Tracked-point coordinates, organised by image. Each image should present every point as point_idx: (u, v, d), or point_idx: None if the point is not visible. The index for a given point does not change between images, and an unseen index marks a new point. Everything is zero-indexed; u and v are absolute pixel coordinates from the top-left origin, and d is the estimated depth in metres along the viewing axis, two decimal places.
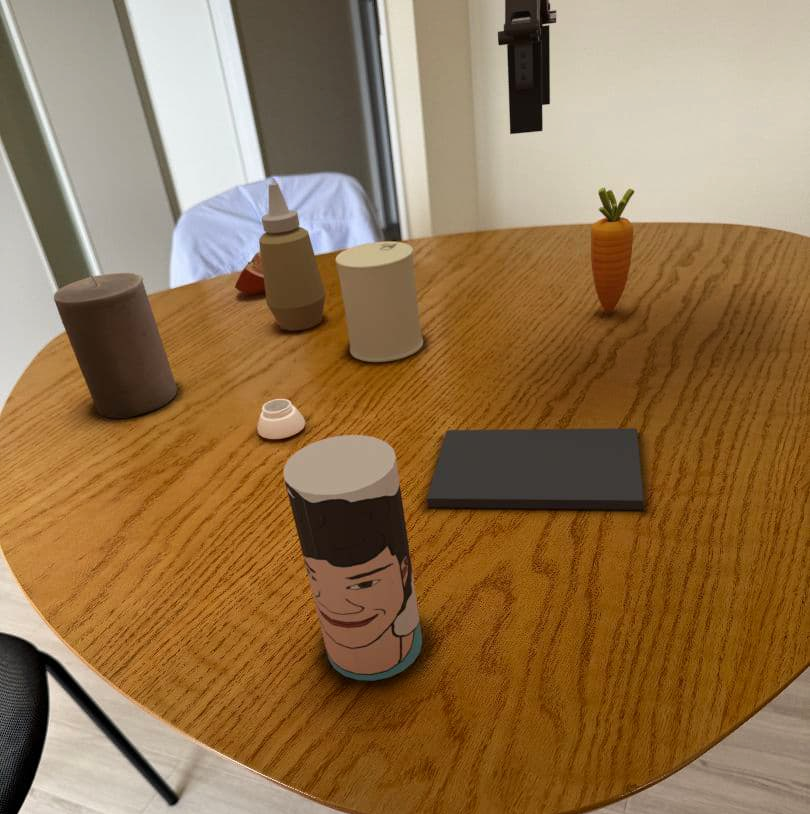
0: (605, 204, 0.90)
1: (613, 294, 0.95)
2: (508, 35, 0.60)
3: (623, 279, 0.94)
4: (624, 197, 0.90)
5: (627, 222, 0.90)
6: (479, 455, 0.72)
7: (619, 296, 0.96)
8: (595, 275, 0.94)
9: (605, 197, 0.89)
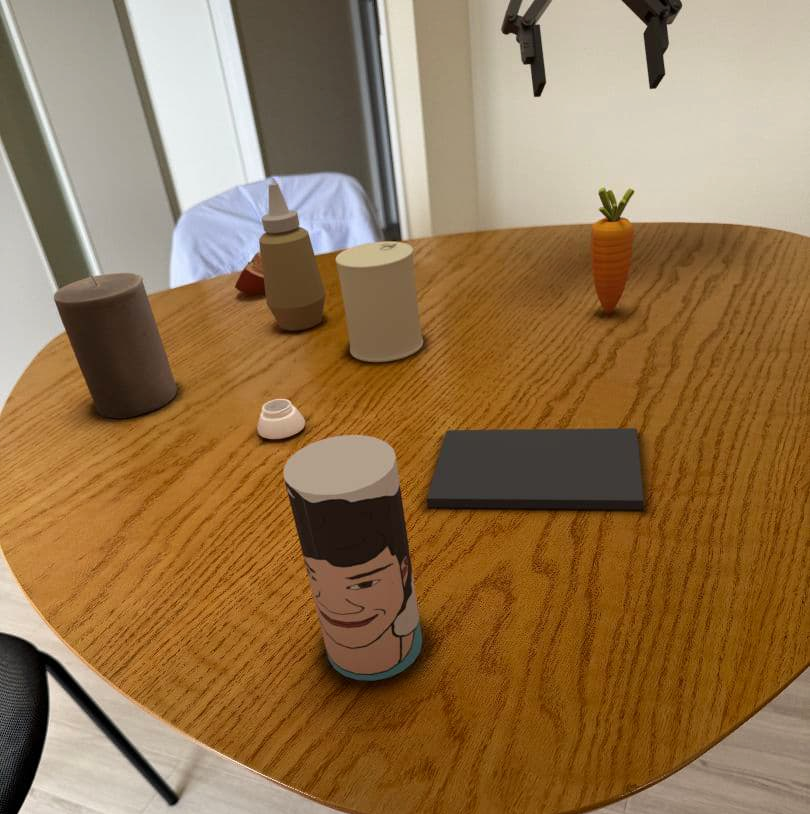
0: (605, 204, 0.90)
1: (613, 294, 0.95)
2: (504, 32, 0.88)
3: (623, 279, 0.94)
4: (624, 197, 0.90)
5: (627, 222, 0.90)
6: (479, 455, 0.72)
7: (619, 296, 0.96)
8: (595, 275, 0.94)
9: (605, 197, 0.89)
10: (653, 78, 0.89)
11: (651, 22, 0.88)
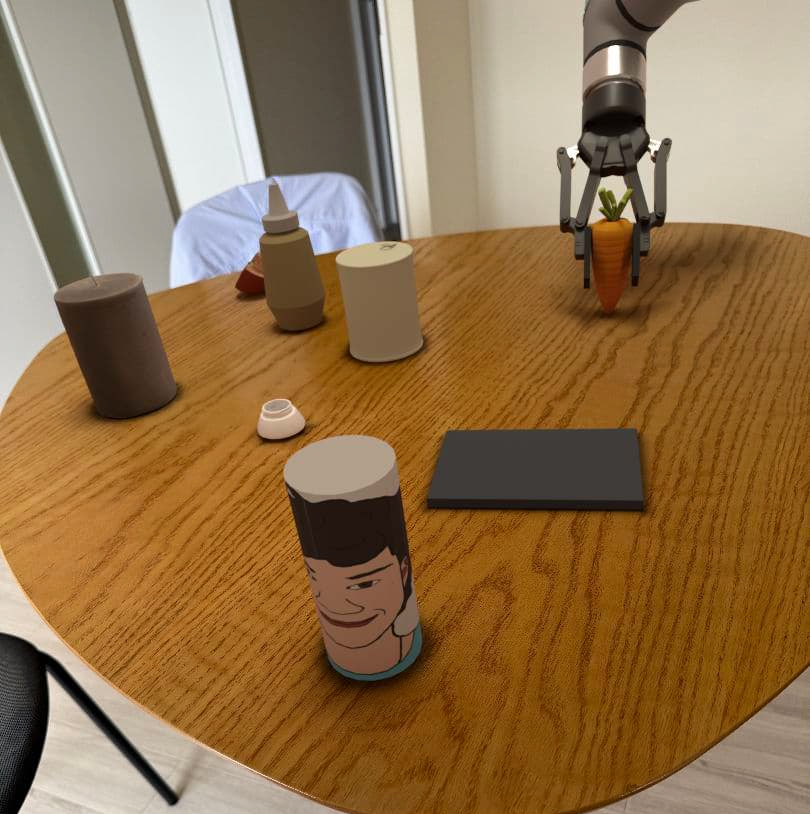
0: (605, 204, 0.90)
1: (613, 294, 0.95)
2: (564, 232, 0.95)
3: (623, 279, 0.94)
4: (624, 197, 0.90)
5: (627, 222, 0.90)
6: (479, 455, 0.72)
7: (619, 296, 0.96)
8: (595, 275, 0.94)
9: (605, 197, 0.89)
10: None
11: (633, 227, 0.91)
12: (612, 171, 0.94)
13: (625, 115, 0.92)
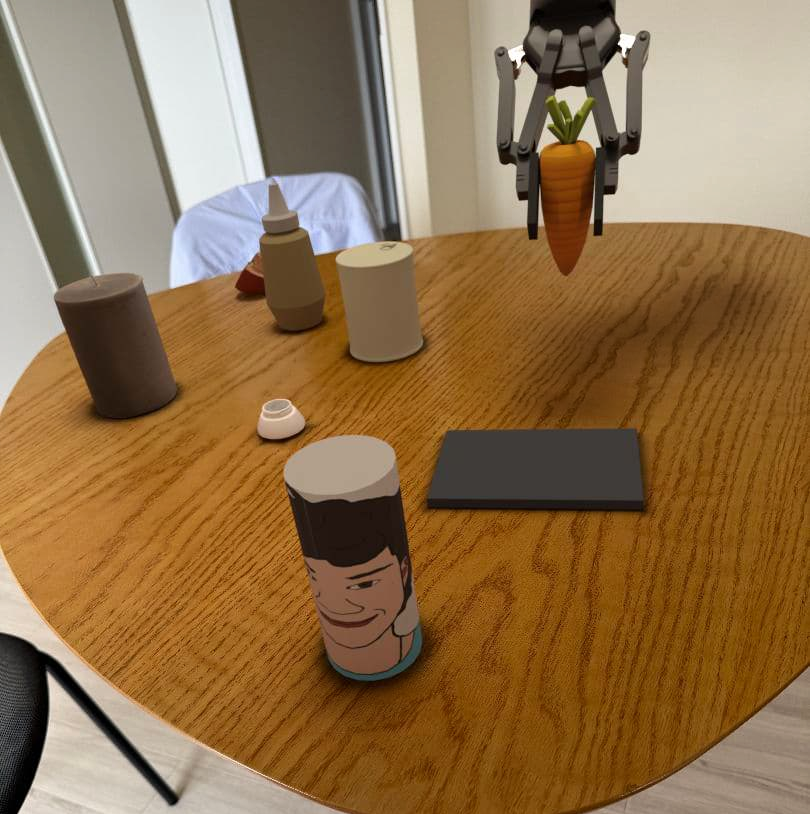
0: (556, 119, 0.65)
1: (571, 248, 0.70)
2: (504, 163, 0.70)
3: (583, 227, 0.69)
4: (582, 110, 0.65)
5: (587, 145, 0.65)
6: (479, 455, 0.72)
7: (579, 251, 0.71)
8: (545, 221, 0.69)
9: (555, 109, 0.64)
10: None
11: None
12: (570, 79, 0.69)
13: (587, 0, 0.67)
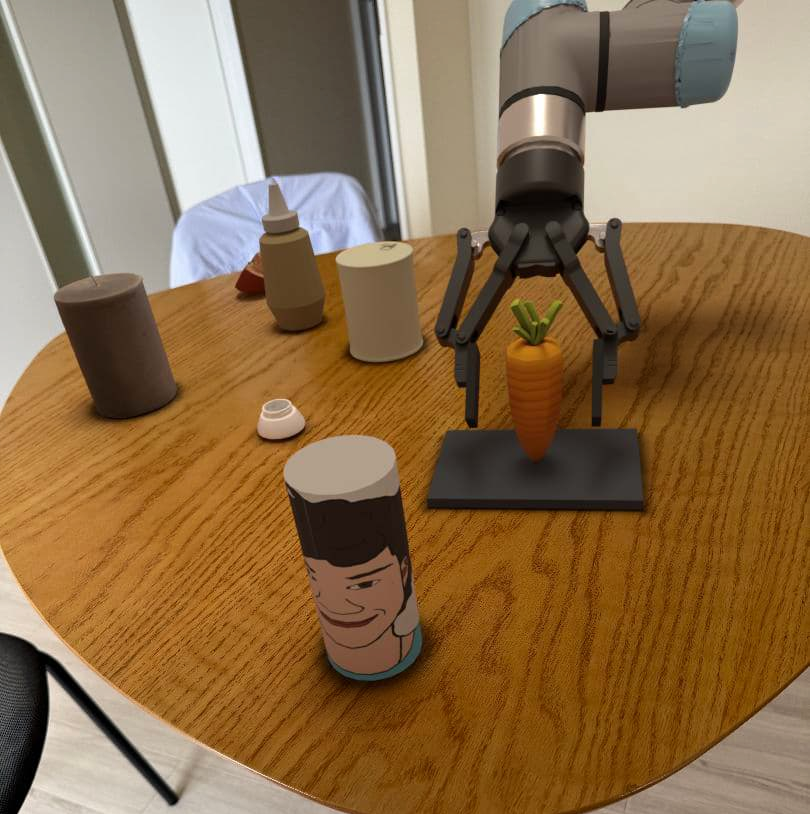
0: (522, 321, 0.62)
1: (539, 441, 0.67)
2: (442, 345, 0.68)
3: (552, 422, 0.66)
4: (549, 312, 0.62)
5: (554, 347, 0.63)
6: (479, 455, 0.72)
7: (548, 441, 0.68)
8: (513, 415, 0.66)
9: (521, 313, 0.62)
10: None
11: (593, 344, 0.63)
12: (537, 271, 0.66)
13: (553, 195, 0.64)
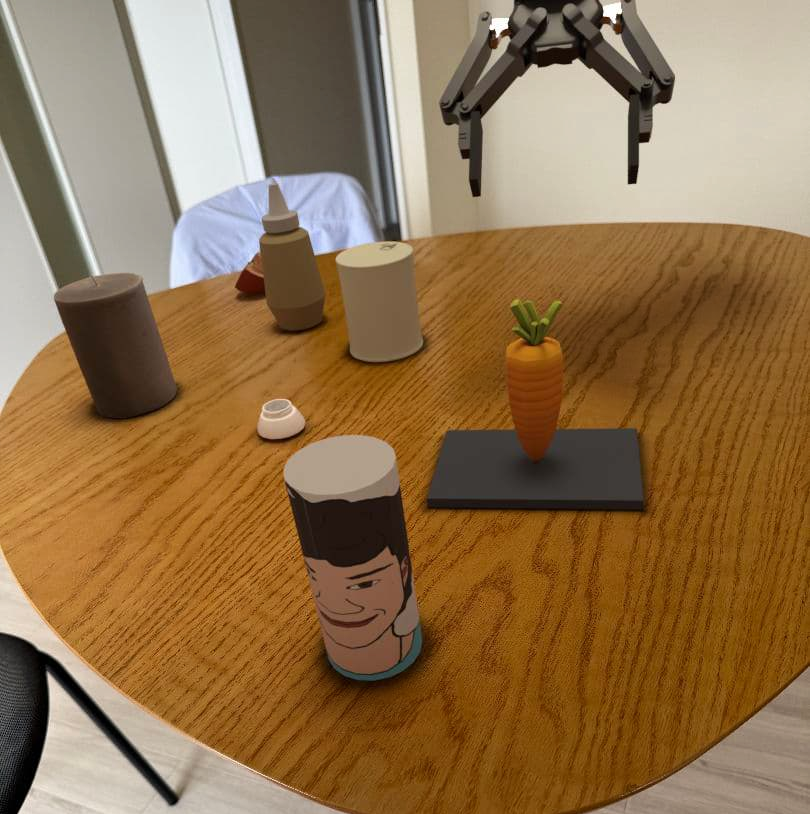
0: (522, 321, 0.62)
1: (539, 441, 0.67)
2: (446, 123, 0.72)
3: (552, 422, 0.66)
4: (548, 312, 0.62)
5: (554, 347, 0.63)
6: (479, 455, 0.72)
7: (548, 441, 0.68)
8: (513, 415, 0.66)
9: (521, 313, 0.62)
10: (628, 171, 0.67)
11: (629, 101, 0.67)
12: (555, 57, 0.70)
13: None
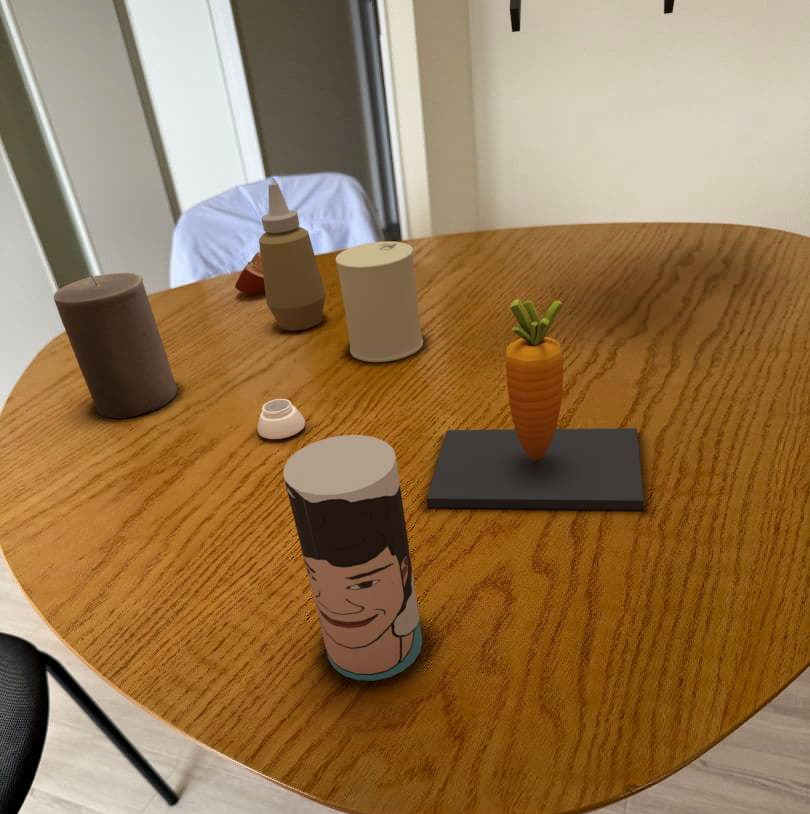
0: (522, 321, 0.62)
1: (539, 441, 0.67)
2: None
3: (552, 422, 0.66)
4: (548, 312, 0.62)
5: (554, 347, 0.63)
6: (479, 455, 0.72)
7: (548, 441, 0.68)
8: (513, 415, 0.66)
9: (521, 313, 0.62)
10: None
11: None
12: None
13: None
